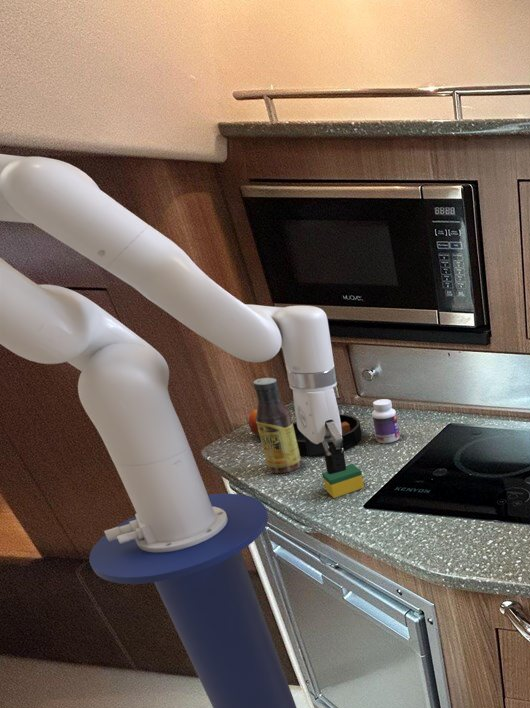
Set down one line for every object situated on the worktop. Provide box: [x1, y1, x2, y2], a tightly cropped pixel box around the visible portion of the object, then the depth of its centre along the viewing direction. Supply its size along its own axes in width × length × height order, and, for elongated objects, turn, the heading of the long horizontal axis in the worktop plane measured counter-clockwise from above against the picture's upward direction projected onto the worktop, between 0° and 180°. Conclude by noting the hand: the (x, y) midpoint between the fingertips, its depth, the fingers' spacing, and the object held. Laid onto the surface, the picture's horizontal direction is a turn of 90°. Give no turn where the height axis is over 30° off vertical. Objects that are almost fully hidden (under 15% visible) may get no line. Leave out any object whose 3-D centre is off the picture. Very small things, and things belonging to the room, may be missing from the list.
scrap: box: [341, 422, 351, 435], centre depth 122 cm, size 2×2×2 cm
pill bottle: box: [371, 398, 401, 444], centre depth 120 cm, size 5×5×10 cm
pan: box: [293, 413, 363, 458], centre depth 121 cm, size 16×22×4 cm
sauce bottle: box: [252, 377, 302, 474], centre depth 103 cm, size 6×6×20 cm
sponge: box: [321, 463, 365, 499], centre depth 100 cm, size 6×4×4 cm, turn 136°
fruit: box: [248, 409, 260, 438], centre depth 120 cm, size 8×8×8 cm
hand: (326, 462), depth 97 cm, fingers open, 9 cm apart
